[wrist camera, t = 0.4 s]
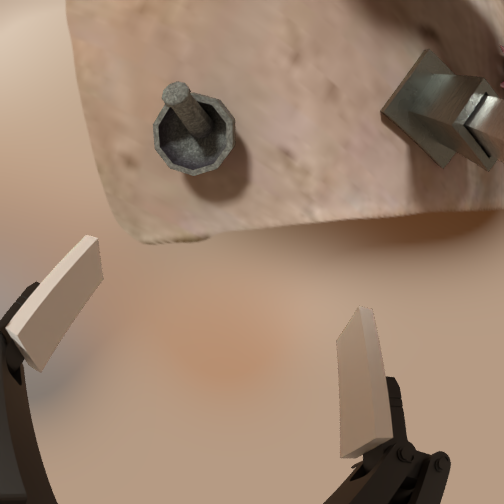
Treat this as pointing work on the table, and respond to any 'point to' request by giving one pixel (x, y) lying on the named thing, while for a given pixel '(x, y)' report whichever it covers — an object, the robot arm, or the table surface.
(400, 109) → the sleeve
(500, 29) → the table surface
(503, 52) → the decorative flower
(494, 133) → the steel post
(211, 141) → the mortar and pestle
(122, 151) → the table surface
